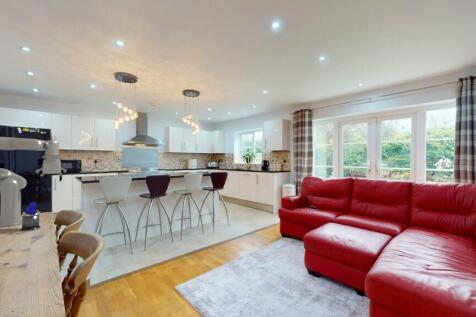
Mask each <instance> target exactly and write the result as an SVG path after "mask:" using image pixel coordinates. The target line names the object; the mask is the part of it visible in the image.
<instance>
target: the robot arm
mask: <svg viewBox="0 0 476 317" xmlns="http://www.w3.org/2000/svg"><path fill="white" fill-rule="evenodd" d="M0 150H1V151H3V150H4V151H15V150H21V151H22V150H24V151H25V150H27V151H37V152H38V151H39V152H40V151H45V152H44V155H43V156H42V159H43V162H42V167H41V168H39V169H36V170H35V173H36V174H37V175H38V176H40V181H41V183H44V181H45V180H44V176H45V174H46V175H47V174H48V175H49V174H50V175H51V174H52V175H53V174H54V175H55V174H58V177H59V179H58V180H59V182H62V180H63V176H64V175H65V174H66V173H67V171H68V169H67V168H64V167H62V162H61V159H60V142H59V141H58V140H43V139H36V138H26V137H25V138H21V137H7V136H0ZM40 171H42V173H40ZM62 171H63V172H62ZM27 184H28V182H27V180H26V179H25V178H24V177H23V176H21V175H19V174H17V173H14V172H13V171H11V170H9V169H6V168H2V167H1V168H0V227H1V228H4V227H12V226H13V227H14V226H19V225H22V219H21V218H22V216H21V214H22V212H21V211H22V210H21V209H22V192H21V190H22V189H24V188H26V186H27Z"/></svg>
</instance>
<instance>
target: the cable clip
mask: <svg viewBox="0 0 476 317" xmlns="http://www.w3.org/2000/svg"><path fill="white" fill-rule="evenodd" d="M28 206H29V207H26V210H25V213H26V214H29V215H36V212H37V202H36V201H33V202H32V201H31V202H29V205H28Z"/></svg>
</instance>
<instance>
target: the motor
mask: <svg viewBox="0 0 476 317" xmlns="http://www.w3.org/2000/svg"><path fill="white" fill-rule="evenodd" d="M40 215H41V212H40V210H39V209H36V215H29V214H26V211H23V212H22V213H21V218H22V219H21V220H22V224H21V228H20V231H21V232H31V230H32V231H36V230H39V229H41V225H40ZM35 229H36V230H35Z"/></svg>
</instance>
